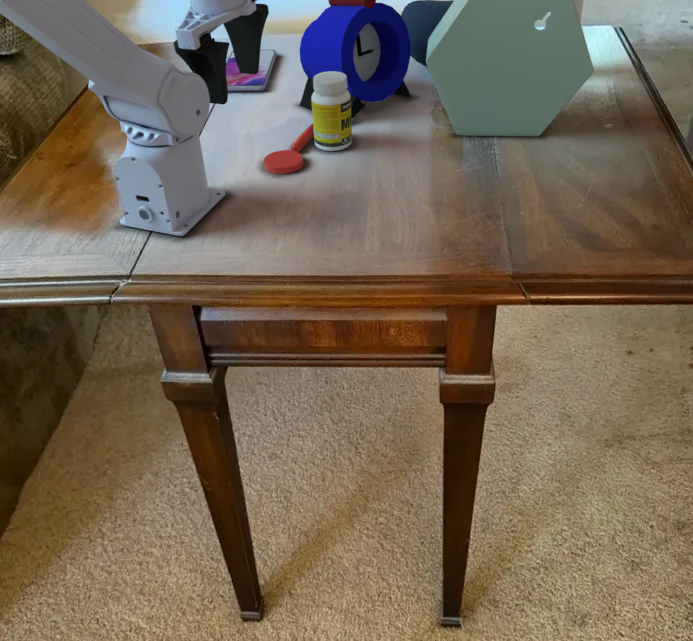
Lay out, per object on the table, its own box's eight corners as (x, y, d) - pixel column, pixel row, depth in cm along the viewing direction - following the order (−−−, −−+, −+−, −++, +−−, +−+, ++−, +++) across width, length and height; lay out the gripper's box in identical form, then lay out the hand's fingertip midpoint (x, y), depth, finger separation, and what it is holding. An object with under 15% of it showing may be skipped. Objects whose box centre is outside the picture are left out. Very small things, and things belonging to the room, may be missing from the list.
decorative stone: (492, 75, 110) (498, 3, 104) (413, 86, 108) (414, 13, 102) (464, 48, 119) (468, -19, 113) (390, 58, 117) (390, -11, 111)
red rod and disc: (293, 176, 88) (292, 167, 88) (257, 171, 90) (256, 161, 89) (336, 128, 98) (336, 119, 97) (304, 124, 100) (303, 115, 99)
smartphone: (277, 49, 120) (264, 86, 108) (277, 54, 120) (265, 92, 109) (231, 49, 120) (214, 86, 108) (232, 55, 121) (214, 92, 109)
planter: (508, 143, 103) (618, 9, 91) (511, 170, 97) (629, 30, 85) (403, 75, 99) (504, -75, 87) (399, 98, 93) (507, -59, 81)
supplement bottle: (348, 153, 93) (345, 85, 87) (310, 150, 93) (305, 84, 88) (355, 135, 96) (353, 70, 91) (319, 134, 97) (314, 68, 92)
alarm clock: (349, 126, 98) (343, 6, 89) (290, 101, 106) (279, -13, 96) (415, 99, 104) (416, -17, 95) (355, 76, 112) (351, -33, 103)
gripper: (210, -15, 70) (235, 120, 79) (276, -62, 80) (292, 63, 89) (145, -18, 73) (177, 113, 82) (218, -64, 83) (239, 58, 92)
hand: (234, 87), depth 86 cm, fingers open, 7 cm apart
